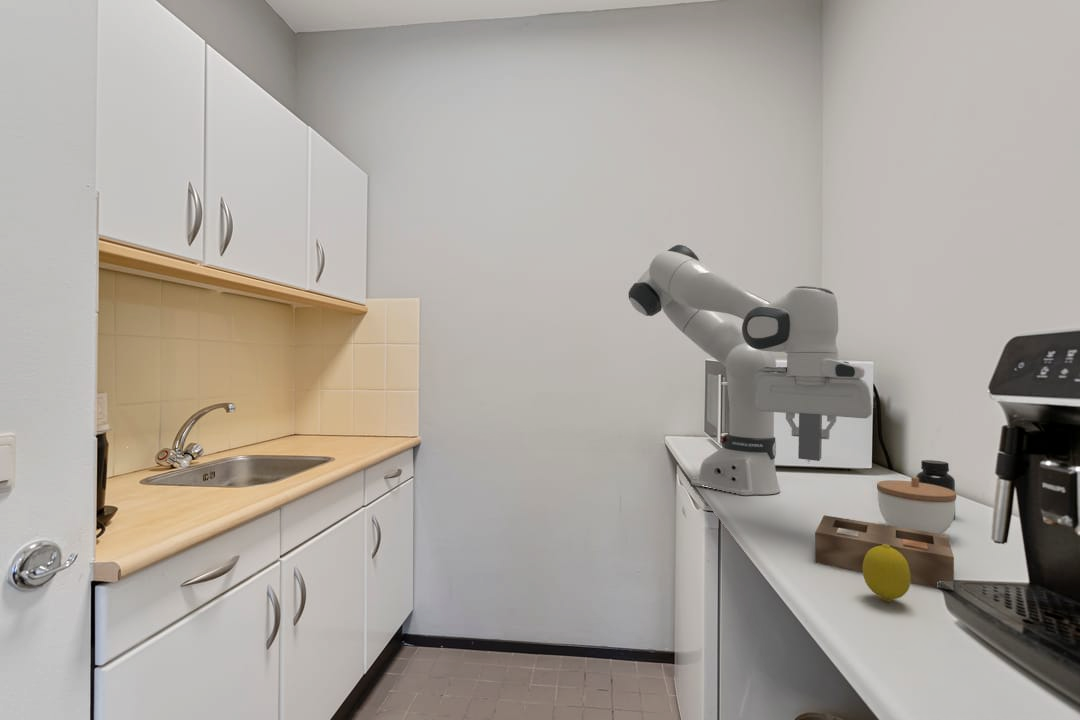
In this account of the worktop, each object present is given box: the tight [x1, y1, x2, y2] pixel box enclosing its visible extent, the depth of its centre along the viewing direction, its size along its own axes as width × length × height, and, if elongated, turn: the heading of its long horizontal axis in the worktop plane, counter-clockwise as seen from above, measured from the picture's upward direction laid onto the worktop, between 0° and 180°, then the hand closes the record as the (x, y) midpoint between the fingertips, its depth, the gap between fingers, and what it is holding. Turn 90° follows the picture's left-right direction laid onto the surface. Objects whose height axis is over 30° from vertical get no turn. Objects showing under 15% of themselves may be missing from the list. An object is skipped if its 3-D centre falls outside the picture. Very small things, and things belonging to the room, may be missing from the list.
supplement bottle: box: [916, 459, 956, 519], centre depth 111 cm, size 7×7×12 cm
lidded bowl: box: [876, 476, 957, 534], centre depth 99 cm, size 13×13×11 cm
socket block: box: [814, 514, 955, 589], centre depth 83 cm, size 18×12×5 cm, turn 54°
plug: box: [798, 413, 823, 462], centre depth 99 cm, size 4×4×9 cm
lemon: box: [862, 544, 911, 603], centre depth 70 cm, size 6×6×8 cm
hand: (810, 437), depth 99 cm, fingers closed on plug, 4 cm apart
